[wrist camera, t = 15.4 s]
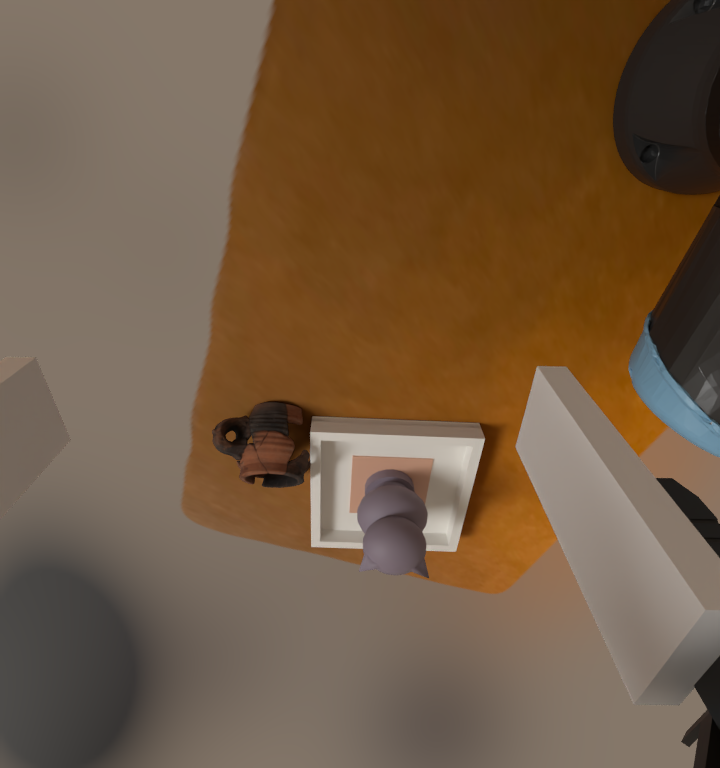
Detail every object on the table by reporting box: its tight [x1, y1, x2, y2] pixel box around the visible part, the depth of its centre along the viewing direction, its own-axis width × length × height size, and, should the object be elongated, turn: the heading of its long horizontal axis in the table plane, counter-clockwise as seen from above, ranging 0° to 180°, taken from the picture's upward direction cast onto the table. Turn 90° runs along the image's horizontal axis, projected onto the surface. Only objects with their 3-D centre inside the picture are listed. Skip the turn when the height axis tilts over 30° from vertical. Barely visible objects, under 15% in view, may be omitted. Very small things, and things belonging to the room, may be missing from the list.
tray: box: [310, 416, 485, 552], centre depth 56 cm, size 20×20×3 cm
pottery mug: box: [212, 402, 311, 488], centre depth 51 cm, size 12×10×8 cm
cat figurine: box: [357, 469, 429, 578], centre depth 52 cm, size 8×8×12 cm
